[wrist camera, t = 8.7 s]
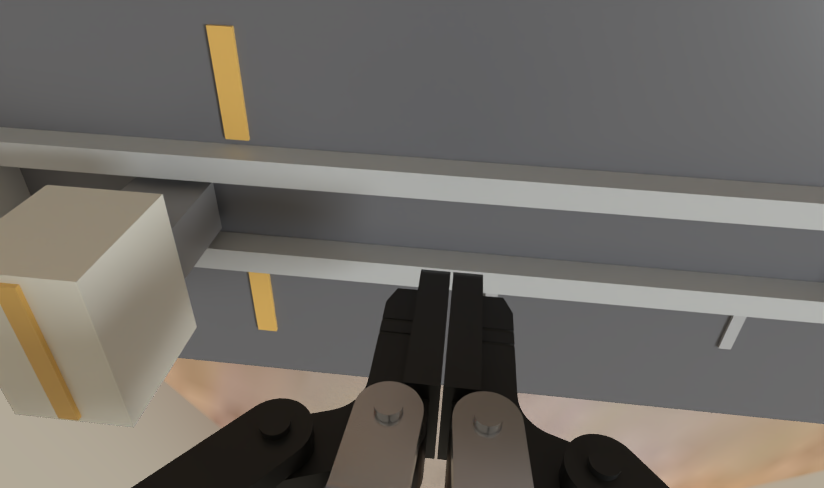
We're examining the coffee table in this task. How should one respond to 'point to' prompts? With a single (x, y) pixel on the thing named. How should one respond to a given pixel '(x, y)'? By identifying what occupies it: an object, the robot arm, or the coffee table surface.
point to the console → (465, 175)
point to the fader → (99, 295)
